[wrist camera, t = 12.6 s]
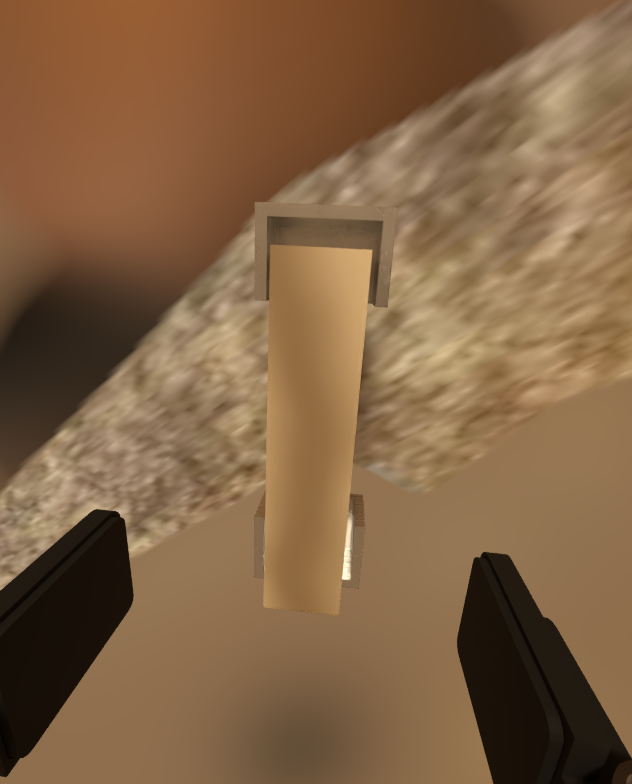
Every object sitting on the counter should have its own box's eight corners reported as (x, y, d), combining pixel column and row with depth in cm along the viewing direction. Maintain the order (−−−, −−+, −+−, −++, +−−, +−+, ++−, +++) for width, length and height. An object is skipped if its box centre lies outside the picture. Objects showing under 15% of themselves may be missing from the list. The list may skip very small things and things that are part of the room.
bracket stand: (379, 235, 28) (397, 207, 18) (355, 495, 34) (358, 588, 24) (289, 231, 28) (254, 201, 18) (282, 488, 35) (254, 577, 24)
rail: (364, 260, 21) (372, 249, 14) (341, 530, 26) (338, 615, 20) (295, 256, 21) (270, 244, 15) (285, 525, 27) (263, 606, 20)
